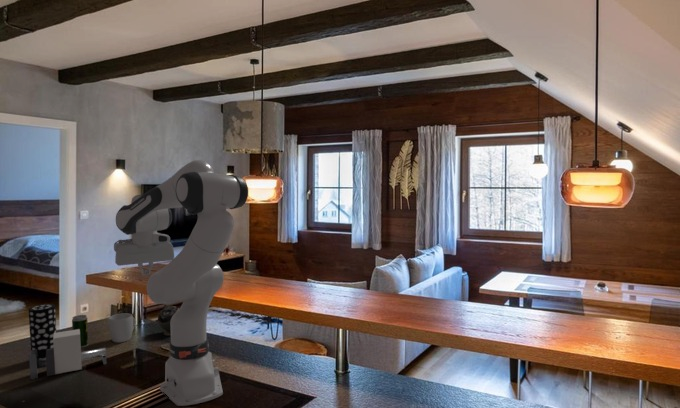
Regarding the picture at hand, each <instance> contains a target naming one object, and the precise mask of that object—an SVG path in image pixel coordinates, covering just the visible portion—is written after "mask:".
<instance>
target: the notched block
mask: <svg viewBox="0 0 680 408" xmlns="http://www.w3.org/2000/svg"><path fill="white" fill-rule="evenodd" d="M53 343H54V361H55V375H59V374H63V373H68V372H69V373H70V372H73V371H79V370H83V365H82V364H83V363H82V361H81V352H82V348H81V342H80V329H77V330H72V329H70V330H65V331H57V333H54V336H53Z"/></svg>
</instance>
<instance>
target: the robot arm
mask: <svg viewBox="0 0 680 408" xmlns="http://www.w3.org/2000/svg"><path fill="white" fill-rule="evenodd" d="M248 197H249V187H248V185H247V183H246V181H245V180H244V179H243V178H242V177H240V176H237V175H234V174H225V173H219V172H218V173H216V172H215V170H214V169H213V167H212V165H210V164H209V163H208V162H207V161H205V160H201V159H195V160H192V161H190V162H188V163H187V164H185V165H184V166H182V167H181V168H180V169H178V170H177V171H176V172H175V174H173V175H172V176H171V177H169V178H168V179H166V180H165V181H164V182H162V183H160V184H159V185H156V186H155V187H153V188H151V189H149V190H147V191H145V192H144V193H141V194H136V195H134V196H132V198H131V201H130V203H129V204H127V205H125V204H124V205H123V206H121V207H120V208H119V210H117V212H116V214H115V224H116V227H117V228H118V229H119V230H120V231H121V232H122V233H123V234H124V235H127V236H129V235H131V238H125V239H118V240H117V241H115V242H114V244H113V250H114V252H115V256H114V257H115V260H114V262H115V264H116V265H117V266H128V265H137V267H138V268H139V269H140V272H141V275H142V276H149V275H150V276H149V278H148V279H147V282H146V292H147V296H148V298H149V299H150V300H151V302H153V303H154V304H156V305H165V304H166V305H169V304H171V305H172V304H175V303H180V302H182V304H181V306H179V310H178V311H177V312H176V313H175V314H174V315H173V316H172V318H171V321H170V329H171V335H170V342H169V347H168V348H169V355H170V356H169V357H168V359H167V360H166V361H165V366H164V369H165V370H164V371H165V373H164V375H165V377H164V383H162V384H160V386H159V390H161V392H162V393H163V392H164V393H165V394H166V395H167V396H168V397H169V398H168V397H167V396H166V395H165V394H164V393H163V394H164V395H165V396H166V397H167V398H168V399H169V400H170V401H171V402H172V403H174V405H175V406H178V407H180V406H181V407H182V406H183V407H185V406H191V405H192V406H193V405H199V404H200V403H207V402H209V401H212V400H215V399H217V398H219V397H221V396H222V395H223V394H224V392H223V387H222V382H221V377H220V368H219V366H215V367H214V365H215V364H216V359H213V354H212V352H210V348H209V345H210V344H209V339H208V336H207V321H208V320H207V319H208V312H209V308H210V305H211V303H212V300H213V298H214V296H215V295H216V293H217V292H218V291H220V289H221V287H222V286H223V283H224V279H225V276H224V272H223V269H222V268H221V267H220V265H219V264H218V262H219V260H220V258H221V257H222V255H223V253H224V251H225V249H226V247H227V245H228V243H229V241H230V239H231V236H232V232H233V228H234V225H235V219H234V217H233V216H232V213H230V212H229V211H228V210H235V209H238V208H239V209H240V208H241V207H243V206H244V205H245V204H246V202H247V200H248ZM177 208H179V209H180V208H184V209H185V210H187V212H188V214H190V215H192V216H196V215H197V220H196V223H195V225H194V227H193V229H192V231H191V233H190V235H189V236H188V239H187V241H186V242H185V244H184V246H183V247H182V249H181V251H179V252H178V254H177V255H176V256H175V252H174V245H173V244H172V242H170V241H171V237H170V236H169V234H165V233H162V232H159V231H163V230H167V229H168V228H169V227H170V226H171V224H172V222H173V212H172V210H171V209H177ZM227 209H228V210H227ZM159 262H161V263H162V262H169V263H168V264H166V265H165V266H163V268H160V269H159V270H157V271H155V272H154V273H152V274H151V271H152V268H153V266H154V263H159ZM144 264H148V265H149V267H148V268H146V269H143V265H144Z"/></svg>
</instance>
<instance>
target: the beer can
mask: <svg viewBox="0 0 680 408" xmlns="http://www.w3.org/2000/svg"><path fill="white" fill-rule="evenodd" d="M71 325H72V326H71V328H72V329H71V330H77V329H80V342H81V349H82V348H83V349H84V348H85V347H88V346H89V327H88V326H89V325H88V317H87V315H86V314H80V315H79V314H78V315H75V316H73V317H72V319H71Z"/></svg>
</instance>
